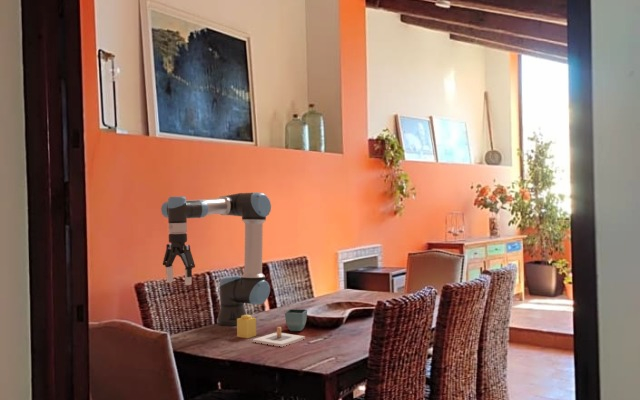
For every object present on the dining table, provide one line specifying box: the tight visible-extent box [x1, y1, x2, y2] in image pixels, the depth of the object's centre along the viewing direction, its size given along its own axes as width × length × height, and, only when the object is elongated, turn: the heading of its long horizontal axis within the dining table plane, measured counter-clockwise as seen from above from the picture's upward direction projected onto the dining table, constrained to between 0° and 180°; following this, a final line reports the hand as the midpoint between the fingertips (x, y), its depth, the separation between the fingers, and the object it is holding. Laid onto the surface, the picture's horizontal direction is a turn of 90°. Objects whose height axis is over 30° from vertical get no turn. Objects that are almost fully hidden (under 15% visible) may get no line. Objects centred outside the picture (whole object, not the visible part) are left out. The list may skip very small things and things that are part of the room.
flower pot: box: [284, 308, 308, 332], centre depth 273 cm, size 9×9×9 cm
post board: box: [252, 326, 306, 348], centre depth 253 cm, size 16×16×6 cm
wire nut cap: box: [236, 314, 257, 339], centre depth 263 cm, size 6×6×9 cm
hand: (179, 283), depth 246 cm, fingers open, 13 cm apart
